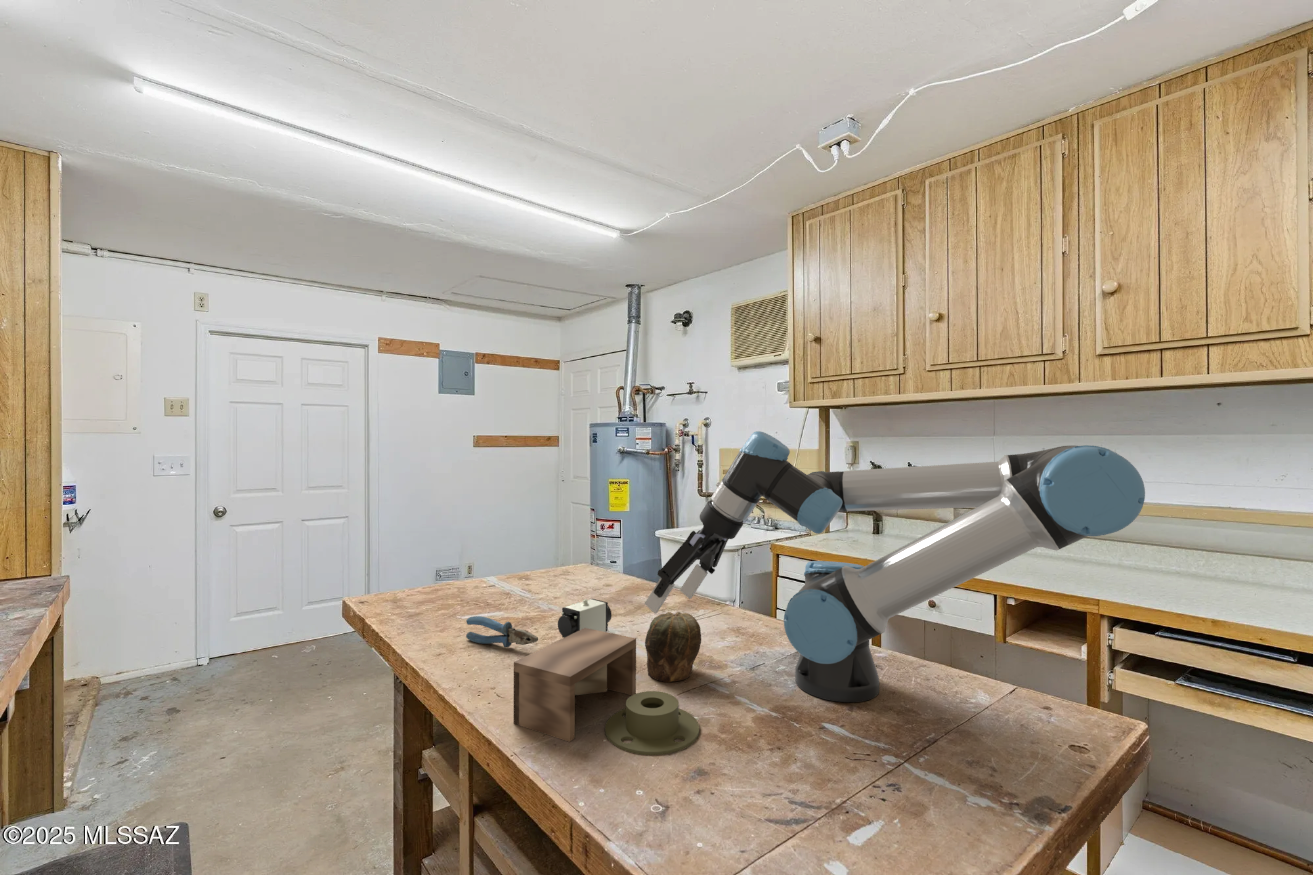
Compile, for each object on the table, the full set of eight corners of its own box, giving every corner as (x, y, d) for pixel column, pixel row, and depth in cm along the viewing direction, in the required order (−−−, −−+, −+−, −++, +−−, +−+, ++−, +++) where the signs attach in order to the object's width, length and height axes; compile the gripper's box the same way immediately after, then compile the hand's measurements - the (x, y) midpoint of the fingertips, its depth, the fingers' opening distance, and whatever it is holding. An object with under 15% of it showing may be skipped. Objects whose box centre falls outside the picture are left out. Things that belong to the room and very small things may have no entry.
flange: (585, 703, 92) (654, 737, 82) (650, 675, 103) (718, 701, 93) (585, 733, 92) (654, 770, 82) (650, 701, 103) (718, 730, 93)
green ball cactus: (697, 688, 108) (697, 624, 108) (639, 683, 110) (640, 620, 110) (704, 665, 118) (704, 607, 118) (651, 661, 120) (651, 603, 120)
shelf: (635, 693, 106) (636, 638, 106) (569, 741, 89) (570, 676, 89) (584, 679, 111) (584, 627, 111) (513, 723, 94) (513, 662, 94)
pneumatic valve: (612, 650, 126) (612, 595, 126) (572, 667, 117) (572, 608, 117) (594, 644, 130) (594, 591, 130) (554, 660, 121) (554, 603, 121)
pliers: (539, 653, 125) (539, 626, 125) (533, 656, 123) (533, 629, 123) (471, 638, 134) (471, 612, 134) (464, 641, 132) (464, 615, 132)
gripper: (737, 495, 117) (684, 577, 122) (679, 501, 96) (618, 600, 101) (767, 518, 114) (711, 601, 119) (714, 529, 92) (649, 630, 97)
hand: (668, 601), depth 110 cm, fingers open, 13 cm apart
